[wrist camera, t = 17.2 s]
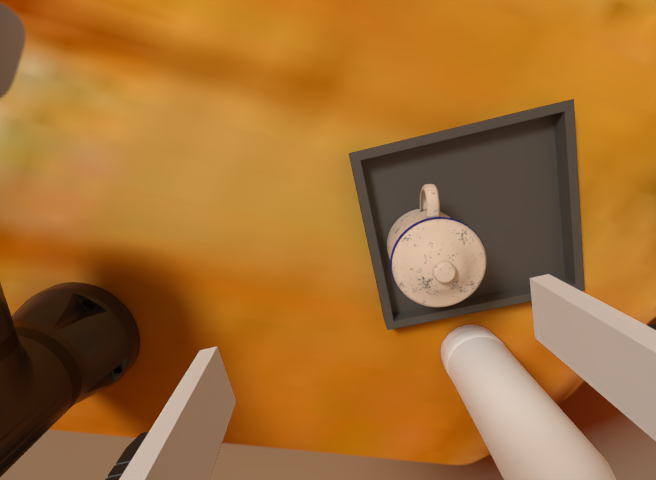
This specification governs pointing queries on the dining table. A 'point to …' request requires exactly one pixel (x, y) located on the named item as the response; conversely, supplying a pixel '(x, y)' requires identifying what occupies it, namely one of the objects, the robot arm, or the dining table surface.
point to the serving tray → (482, 204)
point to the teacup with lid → (435, 254)
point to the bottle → (517, 412)
